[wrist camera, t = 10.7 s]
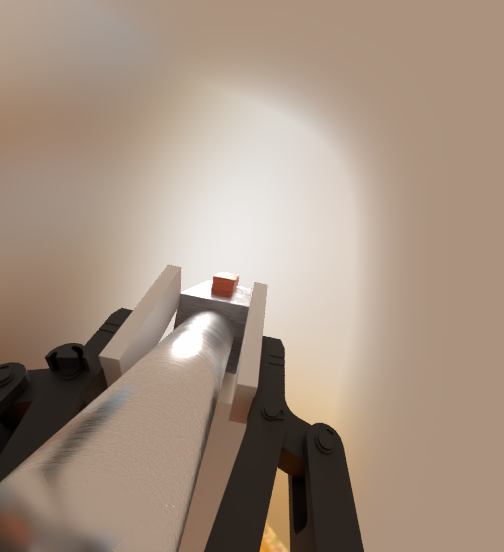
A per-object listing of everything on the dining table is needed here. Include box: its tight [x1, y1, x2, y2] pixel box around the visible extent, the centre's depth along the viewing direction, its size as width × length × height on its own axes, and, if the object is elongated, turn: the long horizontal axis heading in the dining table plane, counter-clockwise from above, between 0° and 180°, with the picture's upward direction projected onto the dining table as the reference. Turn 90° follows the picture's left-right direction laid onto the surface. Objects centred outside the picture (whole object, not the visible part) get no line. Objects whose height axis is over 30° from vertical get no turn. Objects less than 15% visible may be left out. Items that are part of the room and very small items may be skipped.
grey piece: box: [0, 272, 251, 552], centre depth 15 cm, size 4×22×6 cm, turn 0°
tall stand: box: [179, 347, 247, 552], centre depth 22 cm, size 8×14×28 cm, turn 0°
